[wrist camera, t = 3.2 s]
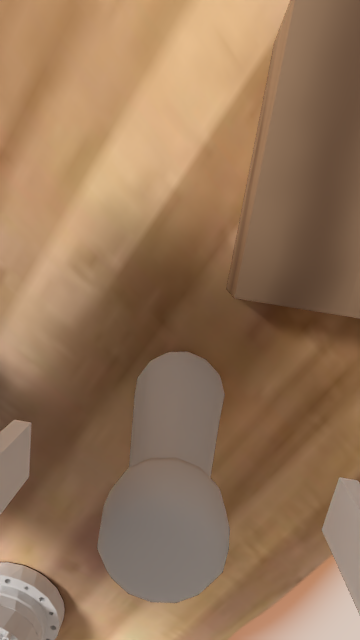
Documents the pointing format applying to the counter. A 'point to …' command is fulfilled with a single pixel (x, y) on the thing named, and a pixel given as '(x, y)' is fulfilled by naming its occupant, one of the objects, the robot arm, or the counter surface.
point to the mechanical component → (28, 604)
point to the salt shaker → (169, 486)
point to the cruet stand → (306, 168)
